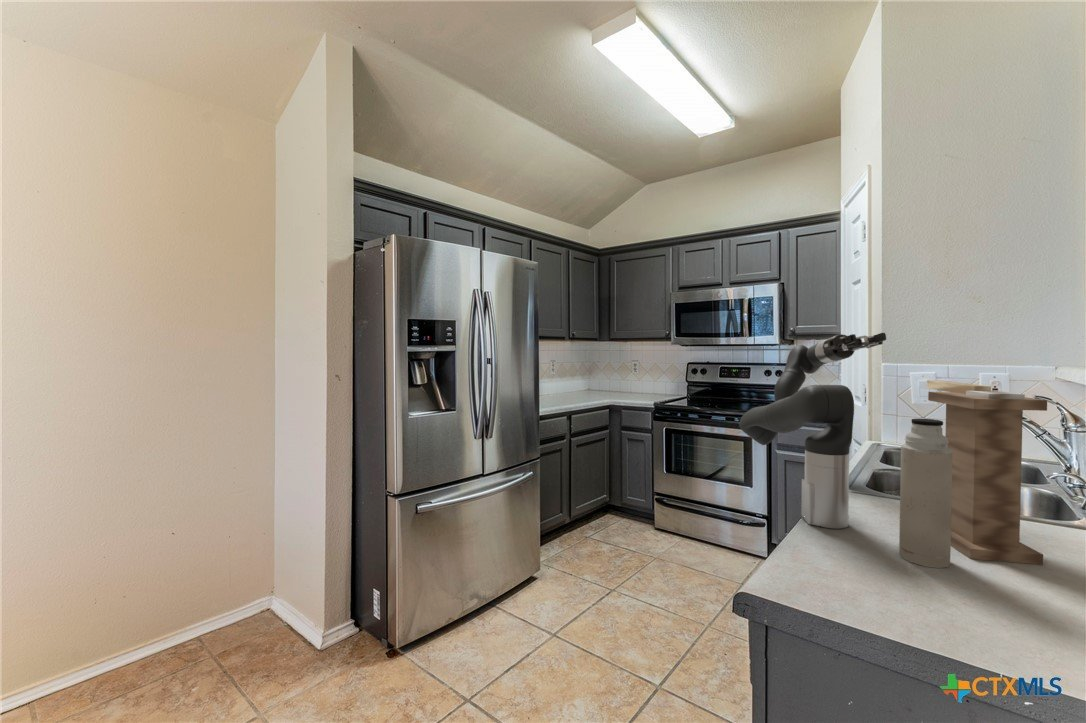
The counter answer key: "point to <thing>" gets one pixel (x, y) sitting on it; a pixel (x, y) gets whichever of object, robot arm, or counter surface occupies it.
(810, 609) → the counter surface
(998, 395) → the paddle
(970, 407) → the stand
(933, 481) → the thermos bottle
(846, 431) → the robot arm
